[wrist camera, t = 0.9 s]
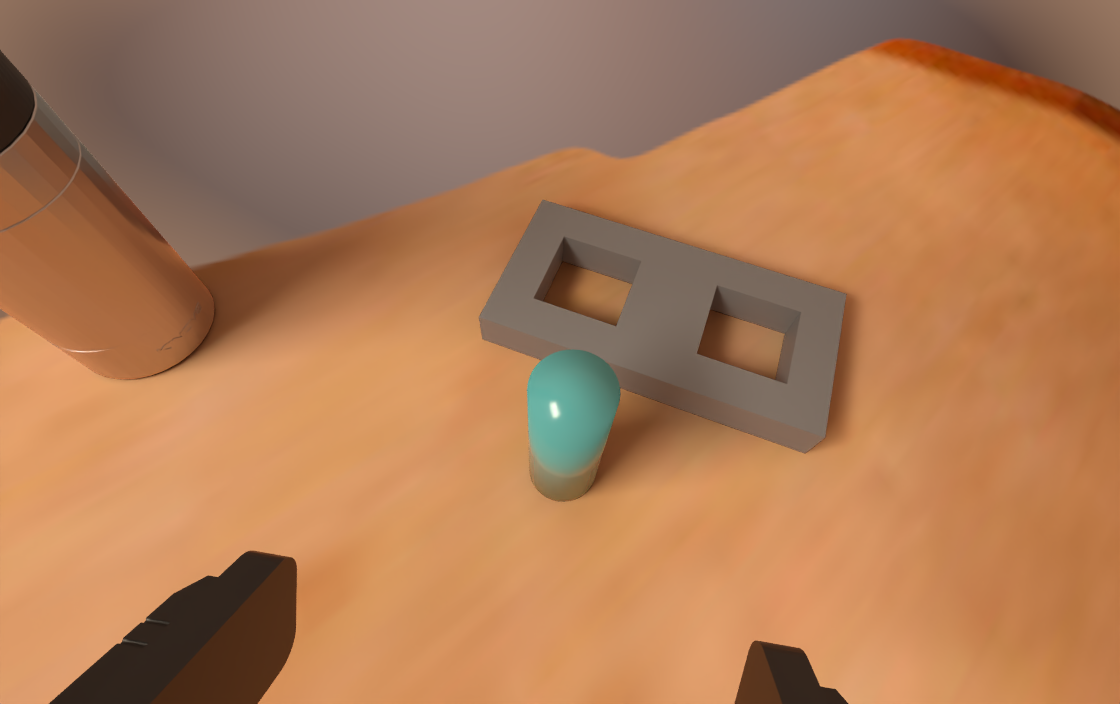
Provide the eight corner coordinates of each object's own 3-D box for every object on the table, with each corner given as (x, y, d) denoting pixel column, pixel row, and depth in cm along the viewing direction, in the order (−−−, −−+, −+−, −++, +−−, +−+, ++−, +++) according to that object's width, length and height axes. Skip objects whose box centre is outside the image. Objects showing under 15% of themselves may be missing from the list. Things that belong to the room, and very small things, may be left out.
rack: (482, 339, 41) (479, 317, 39) (542, 225, 47) (542, 199, 44) (805, 453, 38) (825, 437, 35) (827, 316, 44) (846, 293, 41)
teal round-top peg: (519, 486, 36) (512, 414, 26) (543, 427, 38) (547, 337, 28) (582, 511, 36) (603, 447, 25) (604, 450, 38) (632, 367, 27)
